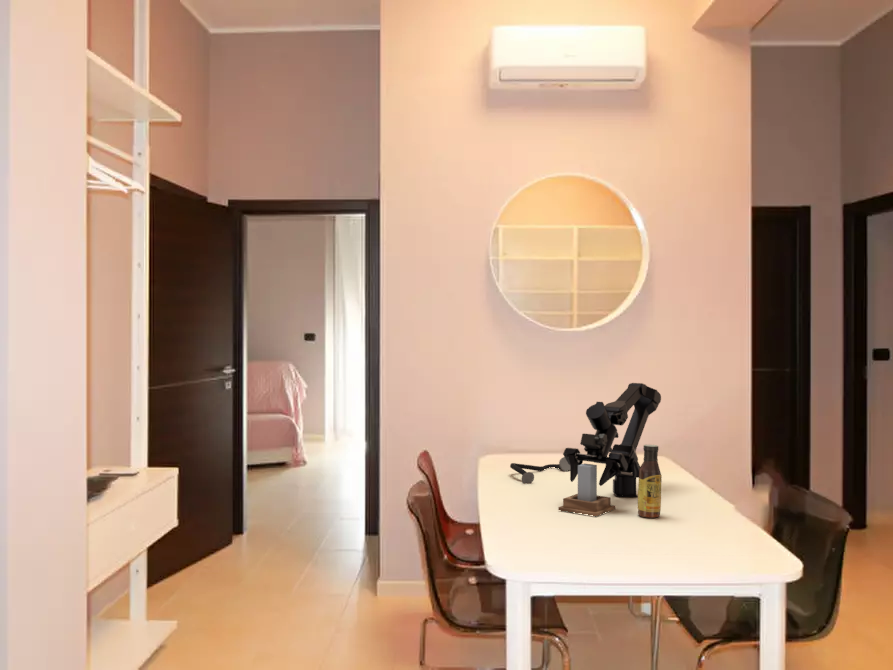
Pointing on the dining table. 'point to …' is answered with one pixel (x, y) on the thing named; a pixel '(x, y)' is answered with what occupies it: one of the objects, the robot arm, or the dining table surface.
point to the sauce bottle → (649, 484)
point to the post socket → (587, 505)
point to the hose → (537, 469)
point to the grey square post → (587, 482)
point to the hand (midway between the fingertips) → (585, 482)
